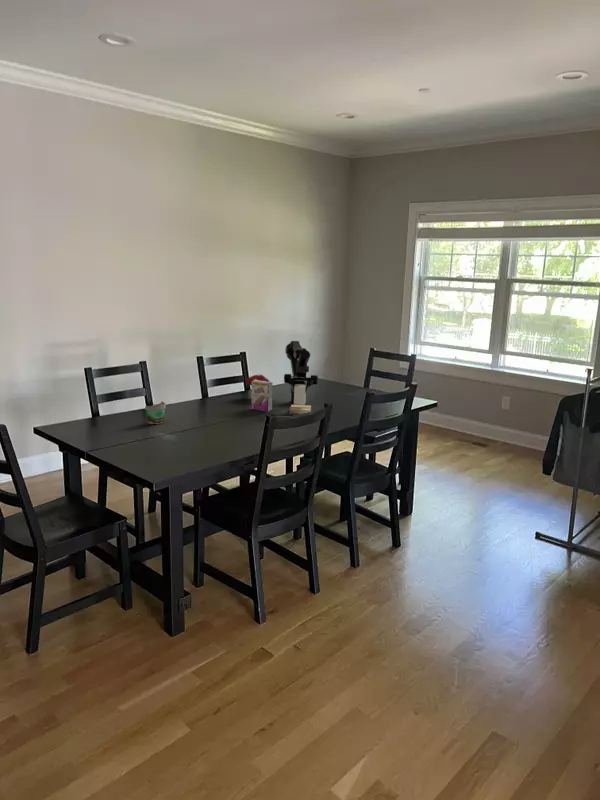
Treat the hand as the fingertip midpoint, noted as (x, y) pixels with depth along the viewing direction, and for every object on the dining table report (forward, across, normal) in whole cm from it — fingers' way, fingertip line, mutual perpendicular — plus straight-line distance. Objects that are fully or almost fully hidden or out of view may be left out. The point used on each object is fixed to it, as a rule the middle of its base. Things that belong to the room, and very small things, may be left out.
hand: (299, 392), depth 342 cm
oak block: (+7, 0, +10) cm, 12 cm away
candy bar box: (+7, -21, +10) cm, 25 cm away
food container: (+32, -70, -15) cm, 78 cm away
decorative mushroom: (-10, -26, +28) cm, 40 cm away
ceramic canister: (+4, 0, +6) cm, 7 cm away
